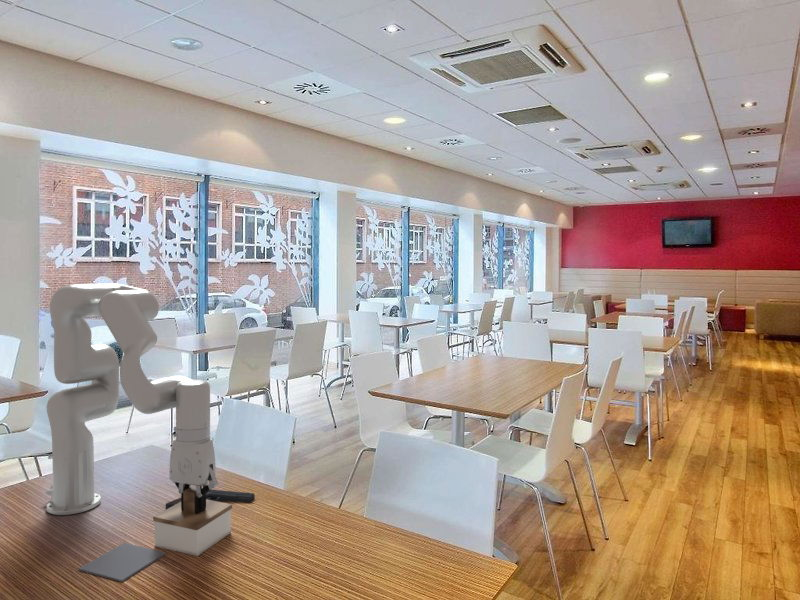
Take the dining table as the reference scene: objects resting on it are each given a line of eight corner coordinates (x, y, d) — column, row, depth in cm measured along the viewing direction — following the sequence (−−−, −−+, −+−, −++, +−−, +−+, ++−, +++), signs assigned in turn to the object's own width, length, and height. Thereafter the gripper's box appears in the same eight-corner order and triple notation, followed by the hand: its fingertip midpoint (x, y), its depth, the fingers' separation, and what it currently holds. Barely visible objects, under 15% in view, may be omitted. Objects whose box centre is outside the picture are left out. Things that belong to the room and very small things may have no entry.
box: (154, 546, 130) (154, 520, 130) (191, 524, 141) (190, 500, 141) (197, 556, 126) (196, 529, 125) (230, 532, 137) (230, 508, 137)
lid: (153, 520, 129) (152, 495, 129) (190, 500, 141) (190, 476, 141) (197, 530, 125) (196, 504, 125) (232, 508, 137) (232, 484, 136)
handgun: (237, 511, 146) (255, 492, 158) (163, 504, 148) (187, 486, 160) (236, 520, 146) (255, 500, 158) (163, 512, 149) (187, 493, 160)
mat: (78, 570, 119) (78, 568, 119) (124, 544, 130) (124, 542, 130) (122, 582, 115) (122, 580, 115) (165, 554, 126) (165, 552, 126)
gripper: (153, 433, 131) (154, 510, 132) (211, 442, 126) (211, 522, 127) (176, 425, 138) (177, 498, 139) (232, 433, 133) (232, 509, 134)
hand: (193, 509), depth 133 cm, fingers closed on lid, 3 cm apart
